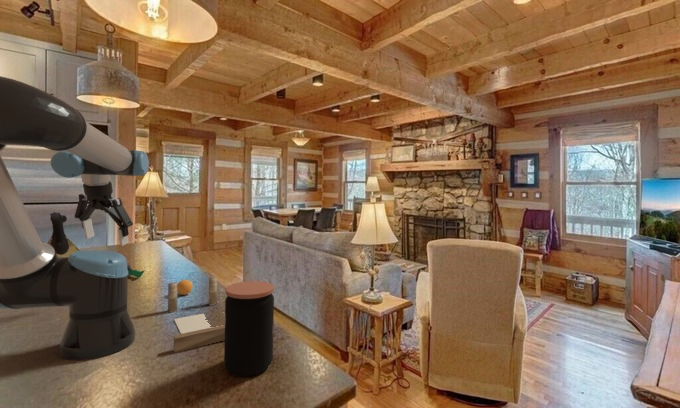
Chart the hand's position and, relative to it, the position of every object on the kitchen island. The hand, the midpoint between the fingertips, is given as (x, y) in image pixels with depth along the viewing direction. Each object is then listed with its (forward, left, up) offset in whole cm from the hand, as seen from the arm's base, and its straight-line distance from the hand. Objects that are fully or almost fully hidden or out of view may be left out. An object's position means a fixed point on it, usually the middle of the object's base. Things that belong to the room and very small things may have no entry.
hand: (107, 240), depth 112 cm
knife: (+32, -9, -21) cm, 39 cm away
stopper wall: (-51, -24, -21) cm, 60 cm away
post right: (-22, -30, -21) cm, 43 cm away
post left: (-22, -17, -21) cm, 35 cm away
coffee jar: (-67, -27, -21) cm, 75 cm away
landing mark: (-37, -24, -21) cm, 49 cm away
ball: (-6, -24, -18) cm, 31 cm away
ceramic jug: (+20, +14, -21) cm, 32 cm away
